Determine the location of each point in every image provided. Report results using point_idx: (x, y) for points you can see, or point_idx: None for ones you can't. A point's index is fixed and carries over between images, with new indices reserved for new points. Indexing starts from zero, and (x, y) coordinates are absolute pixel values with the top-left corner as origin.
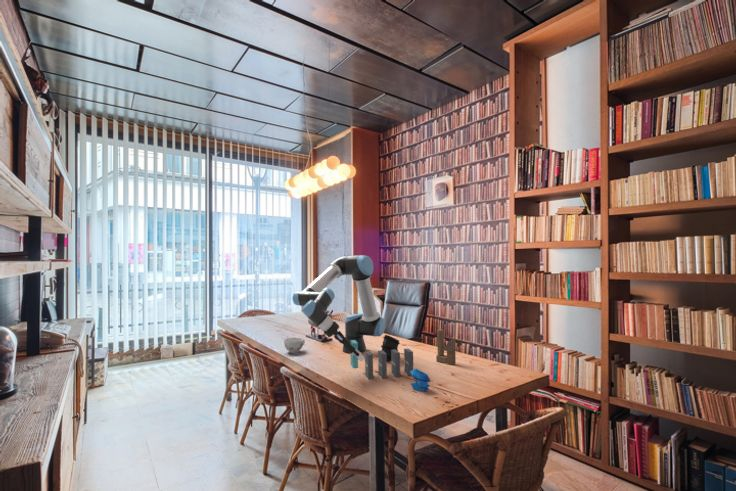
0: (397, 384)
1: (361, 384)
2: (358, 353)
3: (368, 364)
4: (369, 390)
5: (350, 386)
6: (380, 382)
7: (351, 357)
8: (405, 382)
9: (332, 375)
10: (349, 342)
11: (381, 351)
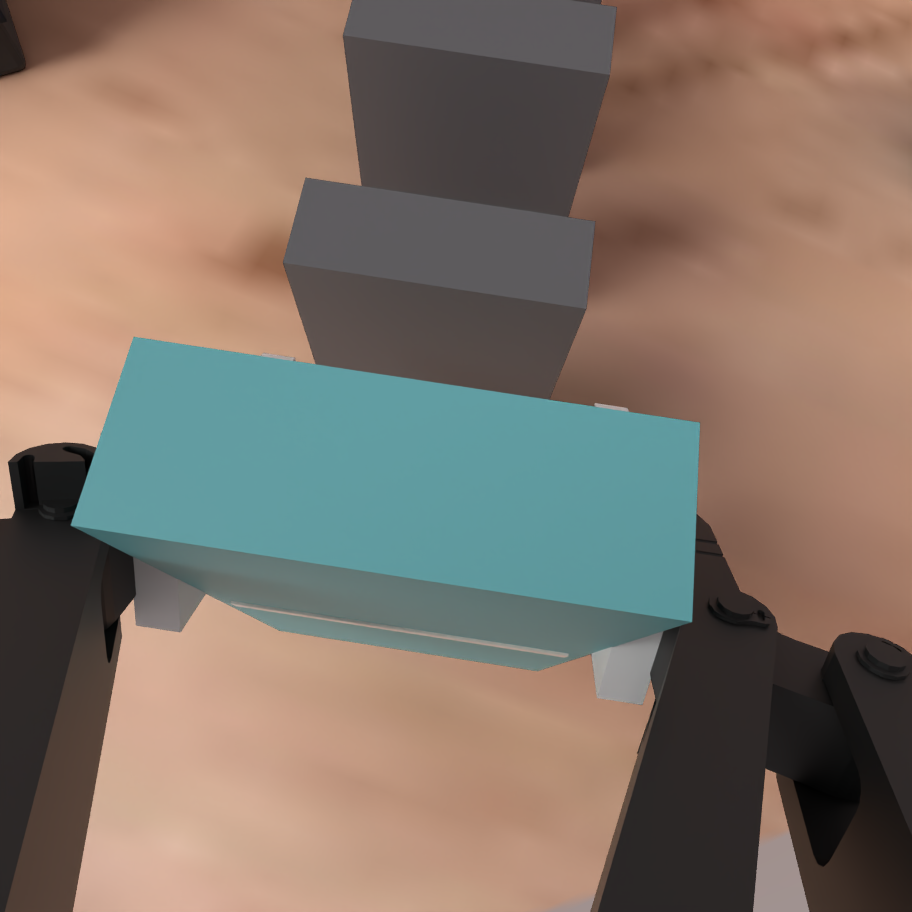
0: (781, 253)
1: None
2: (714, 538)
3: (553, 388)
4: (892, 603)
5: None
6: (664, 381)
7: (364, 631)
8: (745, 164)
9: (107, 901)
10: (74, 574)
11: (433, 15)
